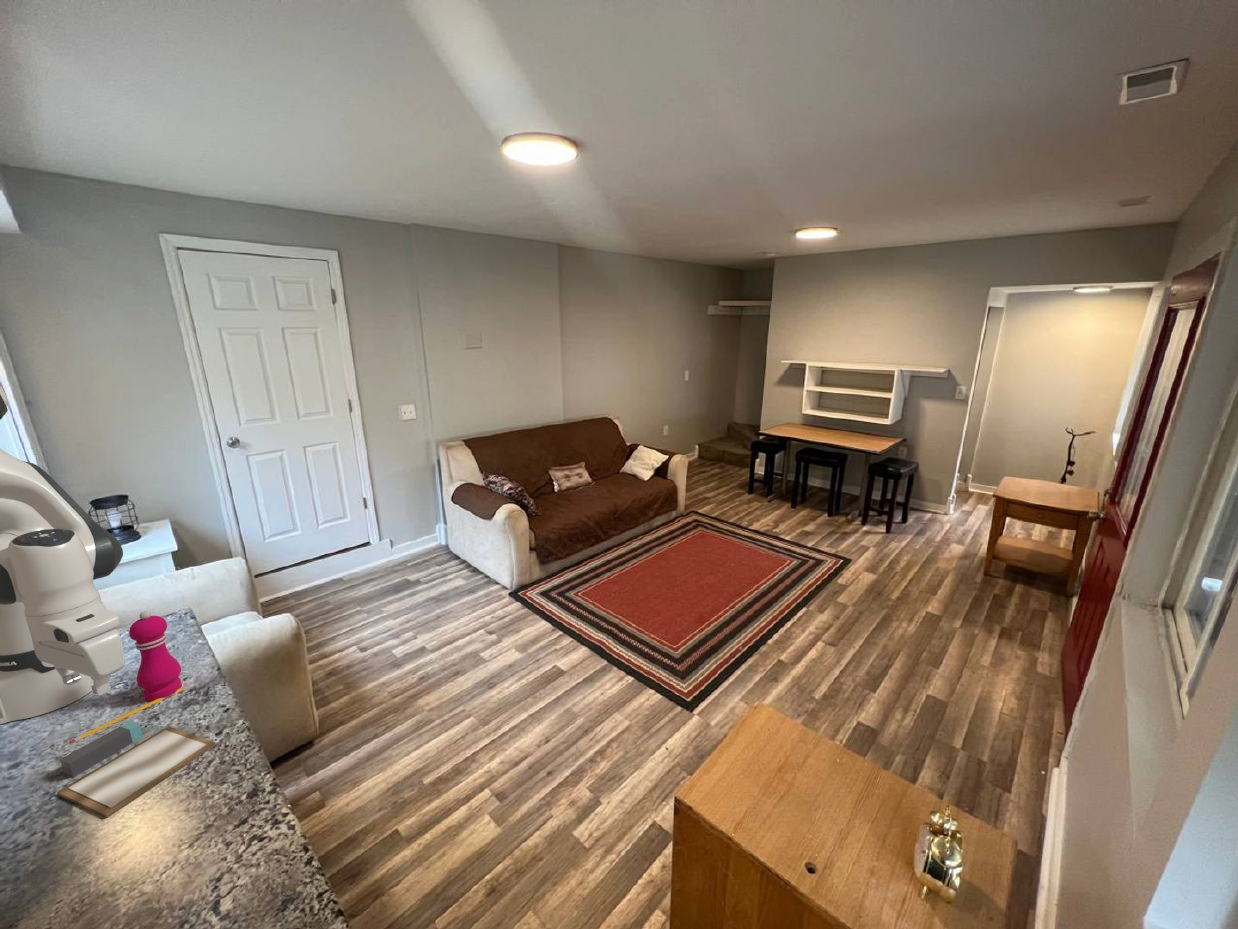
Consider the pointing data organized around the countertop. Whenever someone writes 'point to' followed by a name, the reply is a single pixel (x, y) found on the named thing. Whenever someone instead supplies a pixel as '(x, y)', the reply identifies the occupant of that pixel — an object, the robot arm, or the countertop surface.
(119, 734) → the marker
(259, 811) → the countertop surface
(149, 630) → the pepper mill
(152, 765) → the board
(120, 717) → the pencil
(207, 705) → the countertop surface
